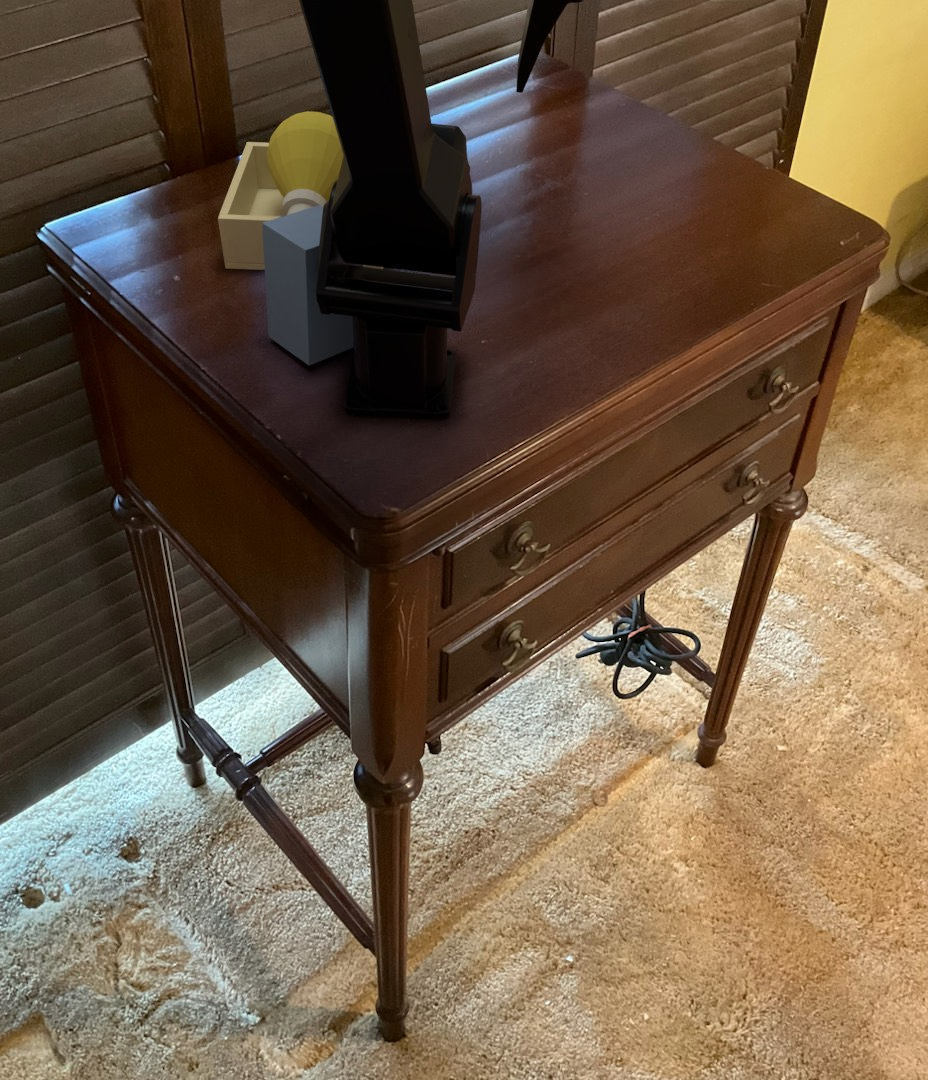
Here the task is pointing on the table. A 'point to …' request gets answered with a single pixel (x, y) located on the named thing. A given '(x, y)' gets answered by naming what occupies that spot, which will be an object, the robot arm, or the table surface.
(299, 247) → the blue block
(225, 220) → the cream bin
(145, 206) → the table surface
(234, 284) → the table surface
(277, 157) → the light bulb
